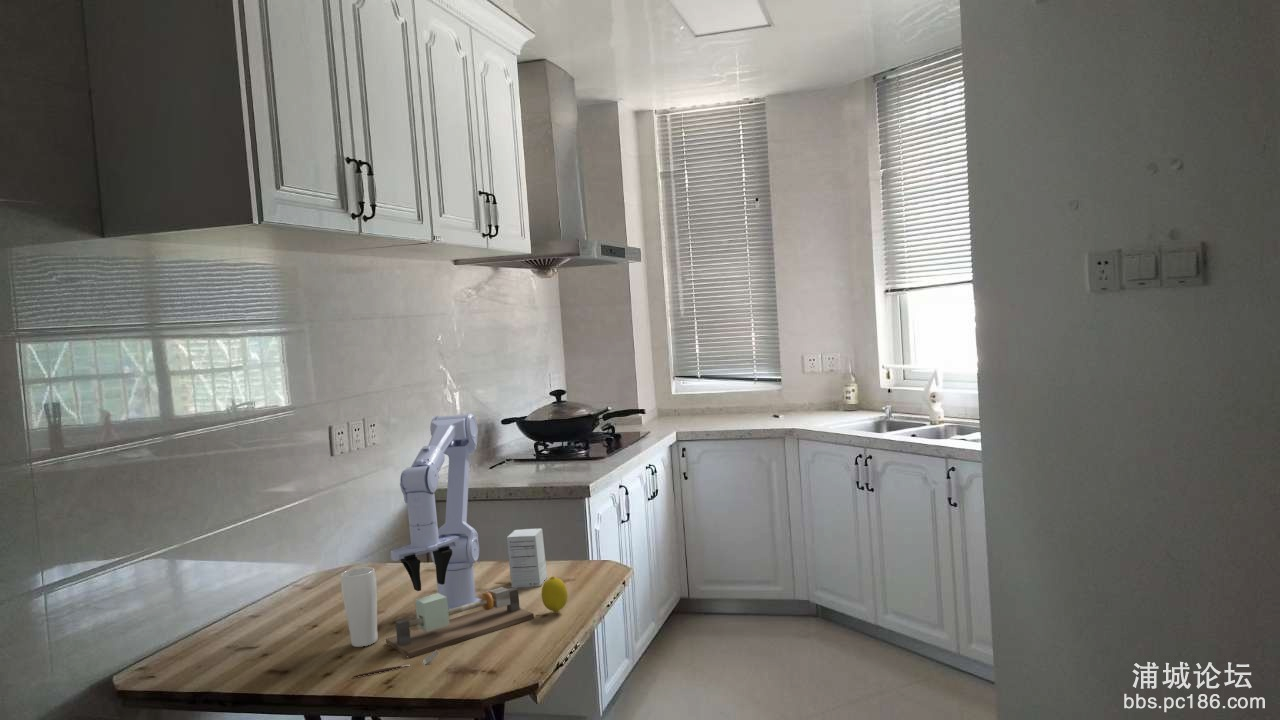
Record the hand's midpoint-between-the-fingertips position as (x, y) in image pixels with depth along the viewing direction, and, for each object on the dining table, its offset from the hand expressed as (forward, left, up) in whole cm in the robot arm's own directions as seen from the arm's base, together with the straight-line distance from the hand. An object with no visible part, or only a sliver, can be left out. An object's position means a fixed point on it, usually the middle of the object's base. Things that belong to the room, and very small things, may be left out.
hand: (429, 586), depth 180 cm
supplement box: (-13, +31, -10) cm, 35 cm away
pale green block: (+5, -2, -7) cm, 9 cm away
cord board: (+5, +4, -9) cm, 11 cm away
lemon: (+12, +23, -10) cm, 28 cm away
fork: (+14, -14, -10) cm, 22 cm away
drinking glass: (-5, -13, -10) cm, 17 cm away
